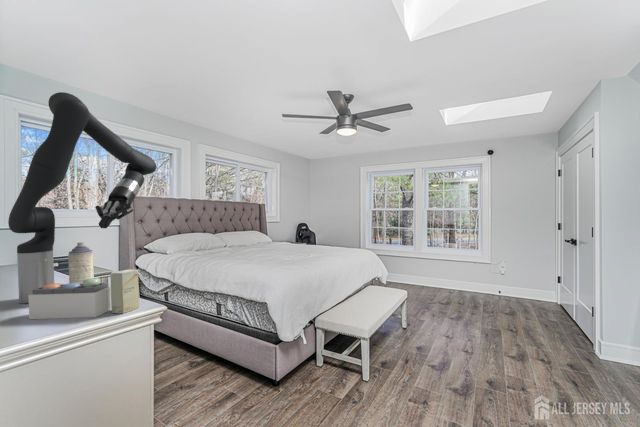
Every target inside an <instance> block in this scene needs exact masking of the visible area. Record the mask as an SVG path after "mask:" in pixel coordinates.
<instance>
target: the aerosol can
mask: <svg viewBox="0 0 640 427" xmlns="http://www.w3.org/2000/svg"><path fill="white" fill-rule="evenodd" d="M67 258H68V260H67V261H68V281H69V282H68V284H69V283H80V284H83V280H86V279H92V278H95V276H94V275H95V274H94V272H95V271H94V252H93V250H92V249H90V248H89V247H88V246H86V245H85V244H84V242H77V243H76V246H75V247H74V248H72V250H70V251H68V257H67Z"/></svg>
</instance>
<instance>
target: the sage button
mask: <svg viewBox="0 0 640 427" xmlns="http://www.w3.org/2000/svg"><path fill="white" fill-rule="evenodd" d="M100 283H101V278H100V277H94V278H92V279H86V280H83V288H91V287H96V286H99V285H100Z"/></svg>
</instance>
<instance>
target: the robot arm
mask: <svg viewBox="0 0 640 427" xmlns="http://www.w3.org/2000/svg"><path fill="white" fill-rule="evenodd" d="M48 107H49V111H50V112H51V114H52V115H53V116H52V117H53V118H52V123H51V126H50V130H49V133H48V136H47V137H46V138H45V139H44V140H43V142H42V143H41V145H39V147H38V148H37V149H36V151H35V152H34V154H33V155H32V159H31V162H30V165H29V168H28V171H27V174H26V177H25V180H24V182H23V186H22V188H21V190H20V192H19V195H18V196H17V199H16V200H15V202H14V204H13V206H12V209H11V211H10V213H9V214H8V215H9V216H8V228H9V229H10V231H11V232H13V233H14V234H32V233H34V236H33V237H32V238H31V239H29V240H27V241H25V242H22V243H20V244H18V245H17V247H16V254H17V255H16V258H17V260H16V261H17V280H18V282H17V283H18V303H19V304H29V297H28V295H31V294H33V293H32V290H33V289H37V288H40V287H42V286H43V285H47V284H53V283H55V265H54V261H55V260H54V259H55V258H54V243H55V238H56V237H55V234H56V232H55V231H56V218H55V213H54V212H53V210H52V209H51V208H50V207H47V206H37V205H38V202H40V200H41V199H42V198H44V197H45V196H46V195H47V194H49V193H50V192H51V191H53V190H54V189H56V188H57V187H59V185H60V184H62V183H63V181H64V180H65V179H66V175H67V172H68V170H69V167H70V163H71V161H72V158H73V155H74V152H75V149H76V146H77V144H78V141H79V138H80V137H81V134H82V133H83V132H84V133H85V134H87V135H88V136H89V137H90V138H91V139H93V140H94V142H96V143H97V144H98V145H99V146H100V147H101V148H103V149H104V150H105V151H107V153H109V154H111V156H113V157H114V158H115V159H117V160H118V161H119V162H121V163H123V164H127V165H126V169H125V173H124V175H123V176H122V178H121V180H120V181H119V182H117V183H116V185H115V186H114V187H113V189H112V190H111V192H110V193H109V194H108V197H107V198H108V199H107V201H105V202H104V203H103V205H101V206H100V205H96V206H95V207H94V208H95V210H96V212H97V215H98V216H99V218H100V220H99V222H98V226H99V228H100V229H108V227H109V226H110V225H111V224H112V222H113V221H115V220H121V219H122V218H123V217H125V216H127V215H129V214H130V213H132V212H134V209H133V207H132V206H131V205H132V204H133V202H134V200H135V199H136V197H137V196H138V194H139V192H140V189H141V188H142V186H143V184H144V182H145V178H144V177H145V176H147V175H151V174H153V173H155V172H156V171H157V163H156V161H155V160H154V159H153V158H152V157H150V156H149V155H147V154H145V153H143V152H141V151H139V150H137V149H135V148H133V147H132V146H131V145H130V144H128V142H127V141H125V140H124V139H123V138H121V137H120V136H118V135H117V134H116V133H115V132H113V131H112V130H110V128H108V127H107V126H106V125H104V124H103V123H102V122H101V121H100V120H99V119H98V118H96V117H95V115H93V114H92V112H90V111H89V110H90V109H89V108H88V107H87V105H86V104H85V103H84V102H83V101H82V100H81V99H80V98H79V97H77V96H76V95H74V94H71V93H70V92H60V91H59V92H55V93H54V94H52V95H51V96H50V97H49V98H48Z"/></svg>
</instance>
